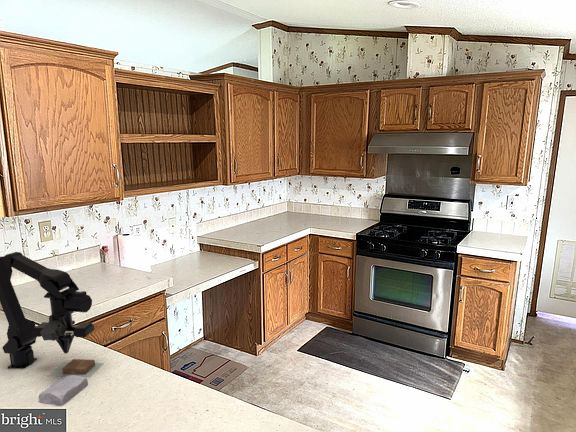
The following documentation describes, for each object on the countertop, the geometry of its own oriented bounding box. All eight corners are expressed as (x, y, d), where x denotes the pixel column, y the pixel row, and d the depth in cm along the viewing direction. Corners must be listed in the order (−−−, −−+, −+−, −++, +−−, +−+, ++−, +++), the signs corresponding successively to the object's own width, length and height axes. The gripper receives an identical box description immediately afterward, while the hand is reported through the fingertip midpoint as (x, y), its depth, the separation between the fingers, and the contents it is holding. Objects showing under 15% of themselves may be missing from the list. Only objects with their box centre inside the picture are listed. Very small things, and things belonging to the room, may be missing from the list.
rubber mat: (47, 377, 136) (47, 376, 136) (63, 362, 144) (63, 362, 144) (90, 378, 134) (89, 377, 134) (104, 363, 143) (104, 363, 143)
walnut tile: (62, 368, 136) (84, 369, 136) (72, 359, 142) (94, 359, 142) (62, 374, 137) (85, 374, 136) (73, 364, 143) (95, 365, 142)
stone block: (36, 410, 122) (64, 407, 119) (32, 395, 121) (60, 392, 119) (65, 388, 133) (91, 385, 131) (61, 375, 133) (87, 371, 130)
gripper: (17, 319, 129) (23, 364, 131) (73, 320, 127) (78, 365, 130) (41, 306, 140) (46, 348, 142) (92, 306, 138) (97, 348, 141)
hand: (66, 352), depth 139 cm, fingers closed
